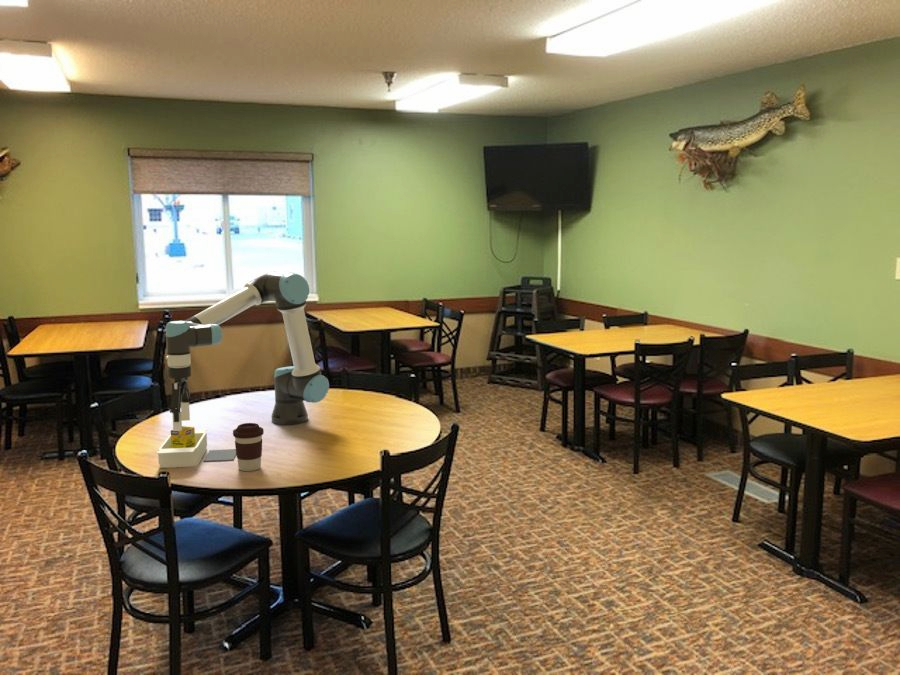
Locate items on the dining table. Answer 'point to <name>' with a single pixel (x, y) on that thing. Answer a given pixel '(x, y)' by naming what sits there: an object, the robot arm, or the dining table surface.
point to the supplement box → (183, 438)
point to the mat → (220, 455)
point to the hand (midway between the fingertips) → (181, 425)
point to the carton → (183, 452)
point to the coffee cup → (248, 446)
